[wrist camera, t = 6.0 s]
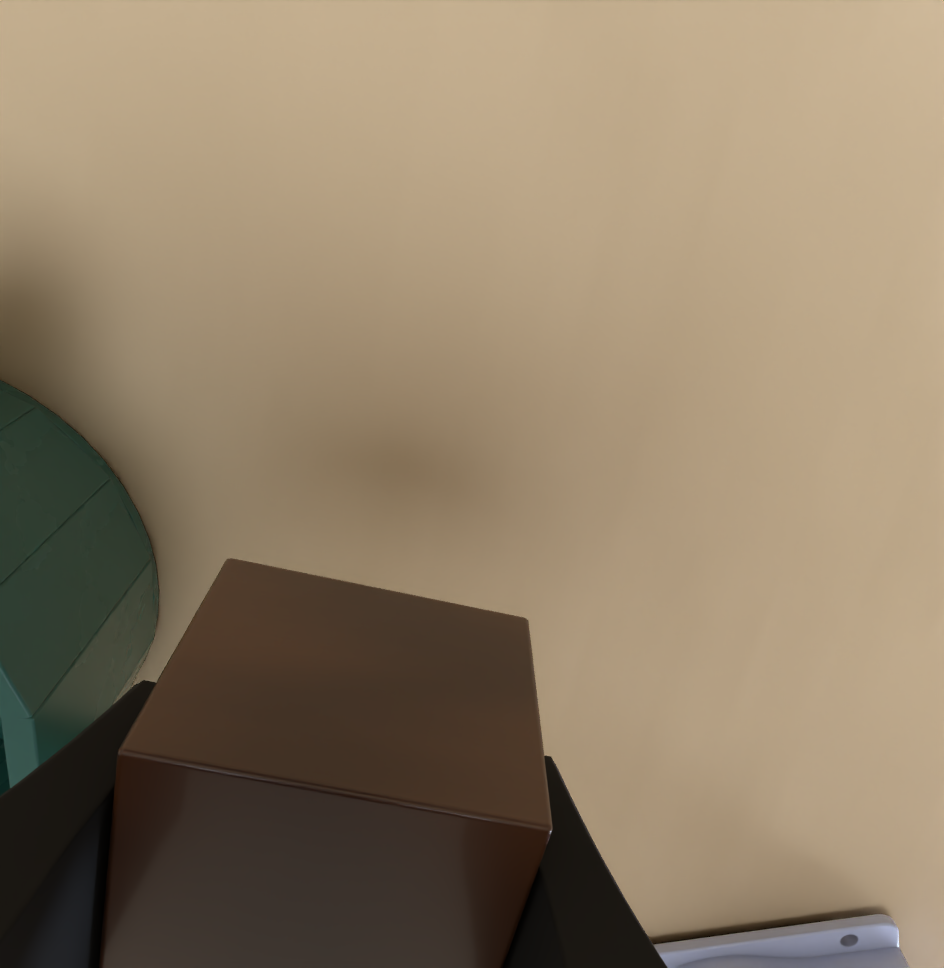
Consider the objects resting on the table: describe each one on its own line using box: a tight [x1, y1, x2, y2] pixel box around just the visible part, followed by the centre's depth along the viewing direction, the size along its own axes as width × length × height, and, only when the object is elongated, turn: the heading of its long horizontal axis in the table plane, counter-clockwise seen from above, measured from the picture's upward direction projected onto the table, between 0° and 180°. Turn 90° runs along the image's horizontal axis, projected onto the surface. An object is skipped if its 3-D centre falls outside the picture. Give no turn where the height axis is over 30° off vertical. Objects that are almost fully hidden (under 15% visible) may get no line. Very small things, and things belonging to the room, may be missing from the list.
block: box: [99, 558, 553, 968], centre depth 11 cm, size 4×4×4 cm
